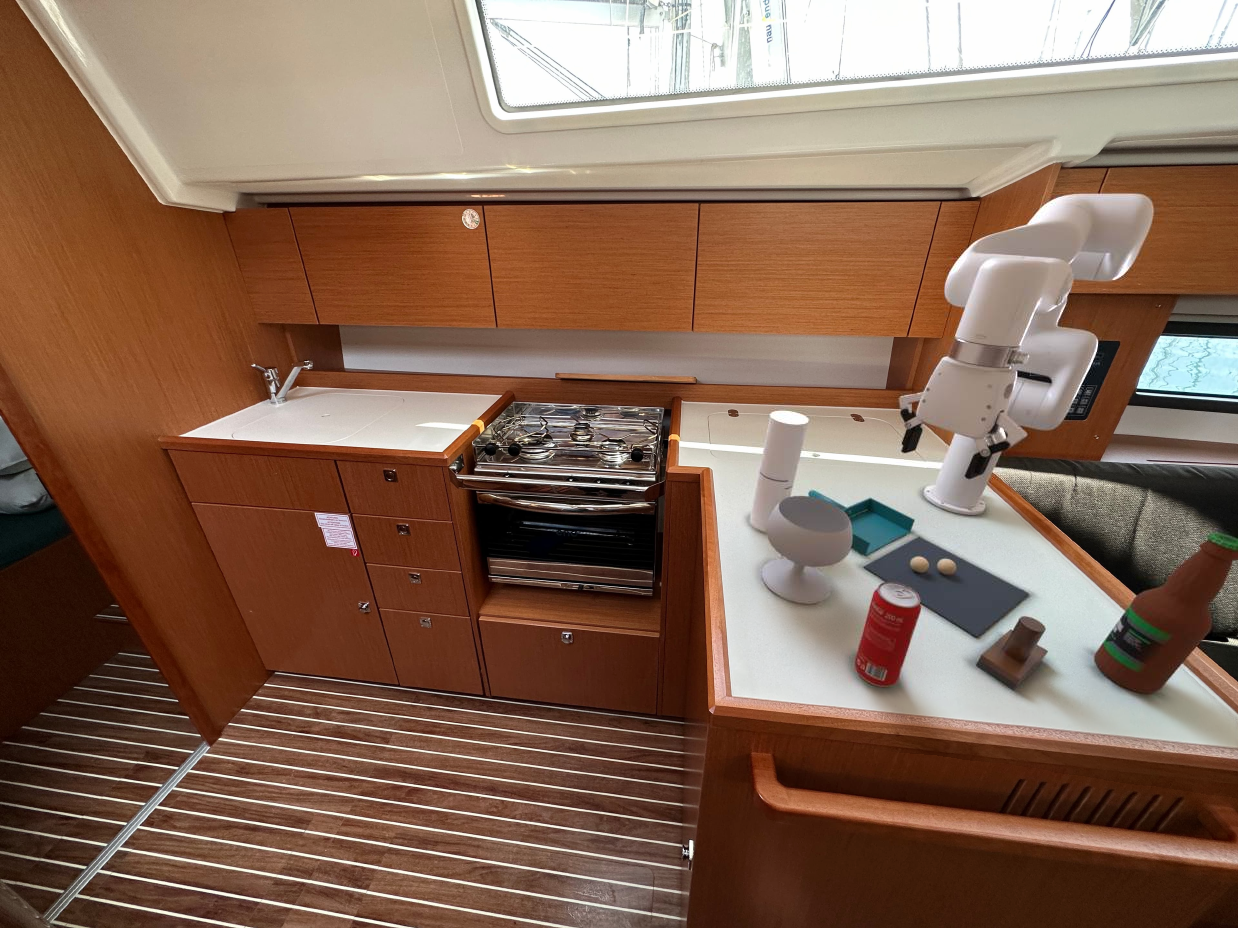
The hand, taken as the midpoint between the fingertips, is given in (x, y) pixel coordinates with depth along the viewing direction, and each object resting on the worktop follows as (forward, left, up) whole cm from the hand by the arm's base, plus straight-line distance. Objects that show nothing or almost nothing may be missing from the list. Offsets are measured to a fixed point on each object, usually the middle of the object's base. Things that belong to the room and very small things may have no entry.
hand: (938, 463), depth 73 cm
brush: (-1, +19, -26) cm, 32 cm away
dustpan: (-14, -19, -26) cm, 35 cm away
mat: (-12, +4, -26) cm, 29 cm away
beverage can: (+19, +9, -26) cm, 34 cm away
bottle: (-14, +29, -26) cm, 41 cm away
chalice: (+13, -10, -26) cm, 31 cm away
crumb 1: (-10, 0, -24) cm, 26 cm away
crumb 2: (-14, +3, -24) cm, 28 cm away
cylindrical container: (+3, -26, -26) cm, 37 cm away
